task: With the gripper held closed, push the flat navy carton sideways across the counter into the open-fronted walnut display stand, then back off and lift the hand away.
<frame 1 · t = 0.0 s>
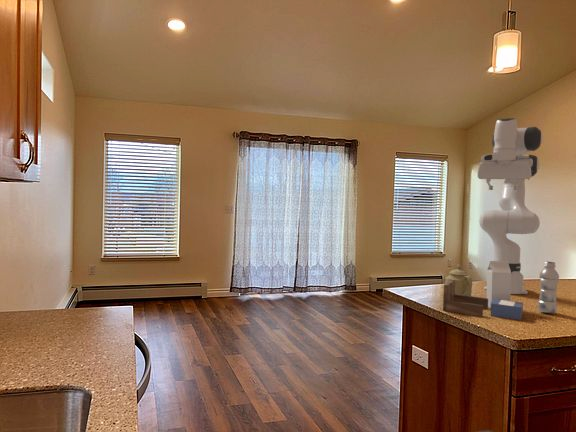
hand: (503, 190, 185), 48 cm above the table, tool pointing down, fingers open, 8 cm apart
navy carton: (506, 316, 168), on the table
milk carton: (498, 308, 179), on the table
plastic bottle: (547, 313, 173), on the table
sugar bowl: (461, 298, 197), on the table
display stand: (467, 309, 175), on the table
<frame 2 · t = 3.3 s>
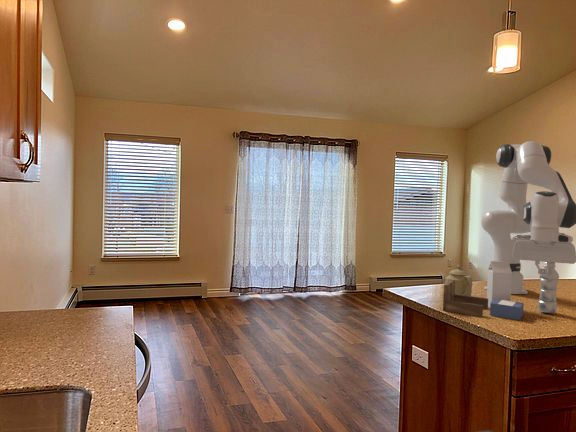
hand: (542, 273, 161), 17 cm above the table, tool pointing down, fingers closed
nothing on the table moved.
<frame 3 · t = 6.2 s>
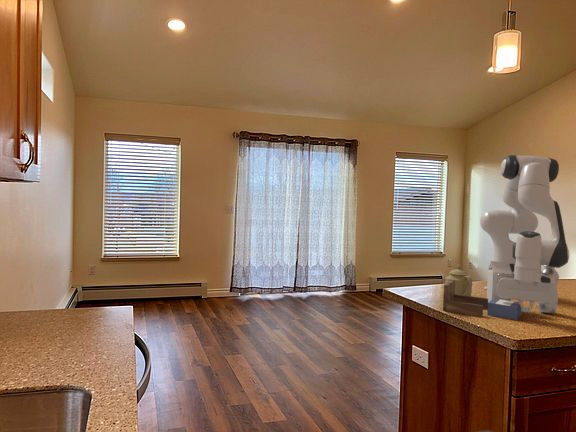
hand: (525, 312, 164), 2 cm above the table, tool pointing down, fingers closed
navy carton: (504, 315, 168), on the table, touching gripper
everything else where it was.
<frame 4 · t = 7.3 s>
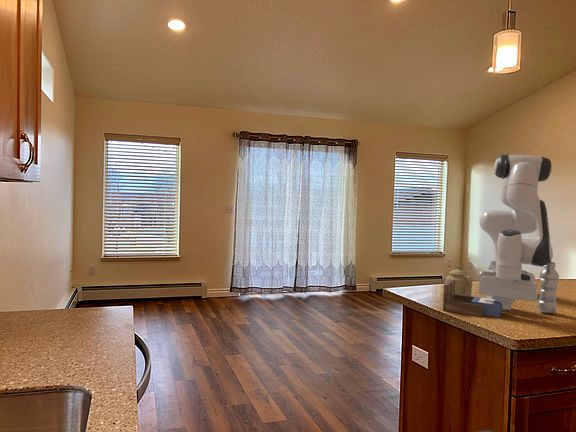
hand: (506, 309, 167), 2 cm above the table, tool pointing down, fingers closed
navy carton: (486, 313, 170), on the table, touching gripper
everything else where it was.
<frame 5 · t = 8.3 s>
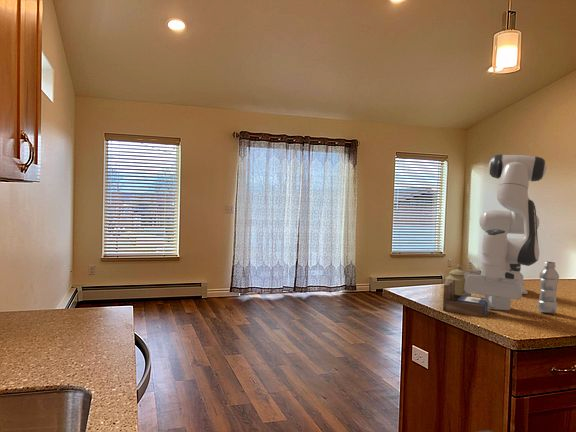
hand: (491, 307, 170), 2 cm above the table, tool pointing down, fingers closed
navy carton: (472, 312, 173), resting in display stand, touching gripper
everything else where it was.
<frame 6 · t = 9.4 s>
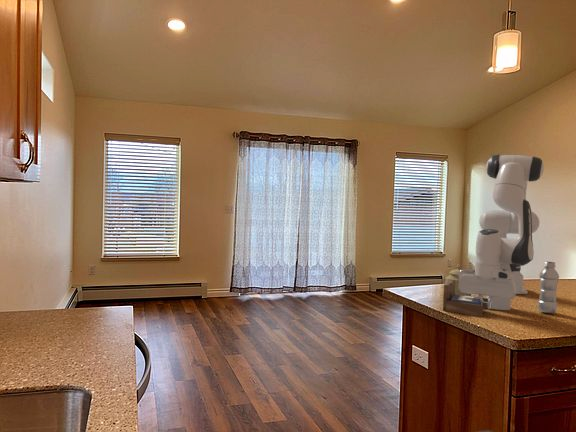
hand: (485, 306, 171), 2 cm above the table, tool pointing down, fingers closed
navy carton: (465, 310, 174), resting in display stand
everything else where it was.
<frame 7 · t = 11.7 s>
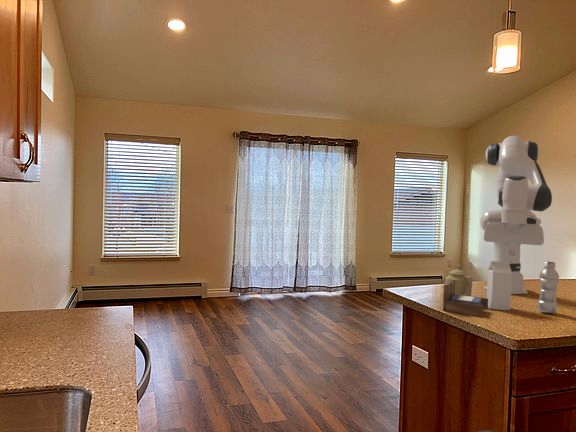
hand: (512, 255, 167), 23 cm above the table, tool pointing down, fingers closed
nothing on the table moved.
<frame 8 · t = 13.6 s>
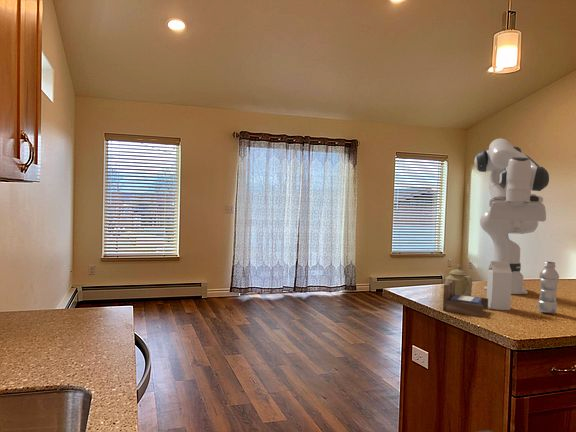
hand: (516, 231, 178), 31 cm above the table, tool pointing down, fingers closed
nothing on the table moved.
at the end: navy carton inside the target area on the display stand (1.5 cm from its centre), point 0.0 cm above the display stand's base; navy carton tilted 0°; navy carton moved 14.5 cm from its start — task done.
